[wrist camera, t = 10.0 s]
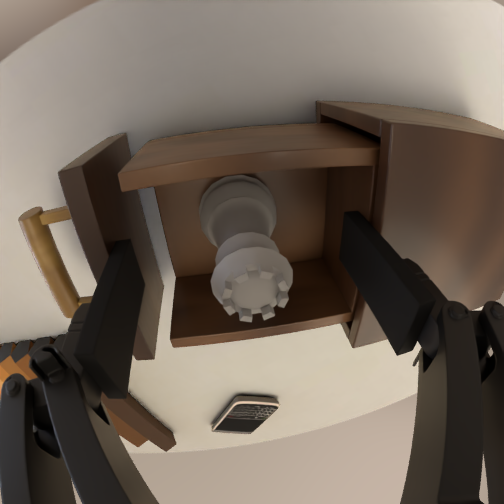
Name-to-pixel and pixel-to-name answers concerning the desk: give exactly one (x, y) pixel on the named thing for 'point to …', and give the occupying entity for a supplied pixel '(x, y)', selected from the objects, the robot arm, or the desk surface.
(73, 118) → the desk surface
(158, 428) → the pan flute
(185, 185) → the drawer
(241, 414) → the cell phone
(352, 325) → the cabinet
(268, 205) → the rook chess piece
